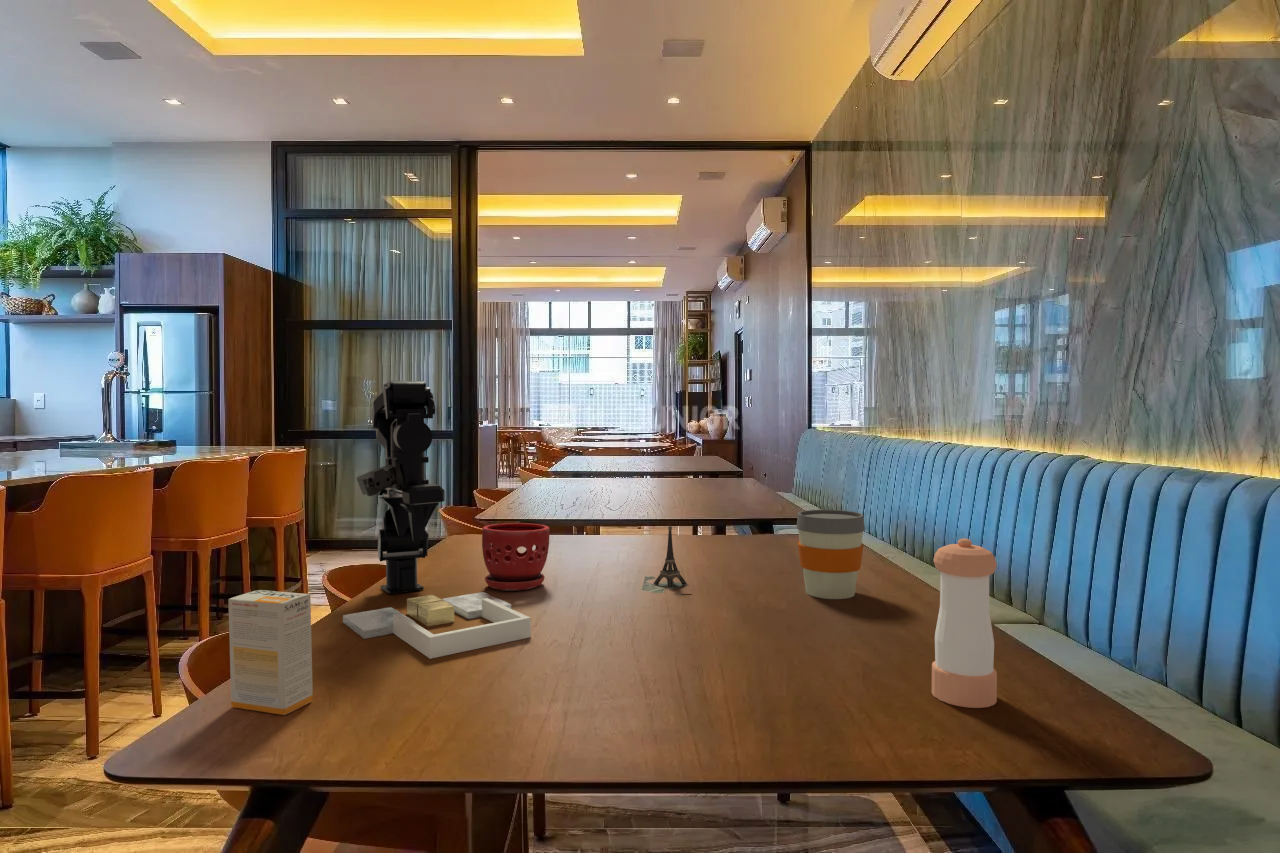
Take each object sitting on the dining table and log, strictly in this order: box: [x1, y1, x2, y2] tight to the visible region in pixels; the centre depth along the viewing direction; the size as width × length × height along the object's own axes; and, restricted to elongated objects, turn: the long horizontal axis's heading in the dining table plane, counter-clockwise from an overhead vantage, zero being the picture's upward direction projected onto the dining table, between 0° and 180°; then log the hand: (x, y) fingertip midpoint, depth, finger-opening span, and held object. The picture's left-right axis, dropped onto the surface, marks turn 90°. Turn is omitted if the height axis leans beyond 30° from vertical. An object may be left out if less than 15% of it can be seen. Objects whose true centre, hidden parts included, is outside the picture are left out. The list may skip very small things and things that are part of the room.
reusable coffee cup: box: [795, 509, 866, 600], centre depth 140 cm, size 12×13×15 cm
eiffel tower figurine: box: [641, 525, 690, 595], centre depth 147 cm, size 15×10×13 cm
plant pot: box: [481, 522, 550, 592], centre depth 147 cm, size 13×13×12 cm
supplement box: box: [228, 589, 314, 716], centre depth 88 cm, size 8×5×13 cm, turn 71°
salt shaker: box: [931, 538, 998, 709], centre depth 90 cm, size 7×7×19 cm
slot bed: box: [342, 591, 512, 639], centre depth 125 cm, size 11×25×1 cm, turn 127°
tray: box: [392, 598, 532, 660], centre depth 115 cm, size 15×16×3 cm
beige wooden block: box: [418, 601, 455, 627], centre depth 123 cm, size 4×4×3 cm
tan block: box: [406, 594, 443, 621], centre depth 127 cm, size 4×4×3 cm
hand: (408, 538), depth 133 cm, fingers open, 7 cm apart
